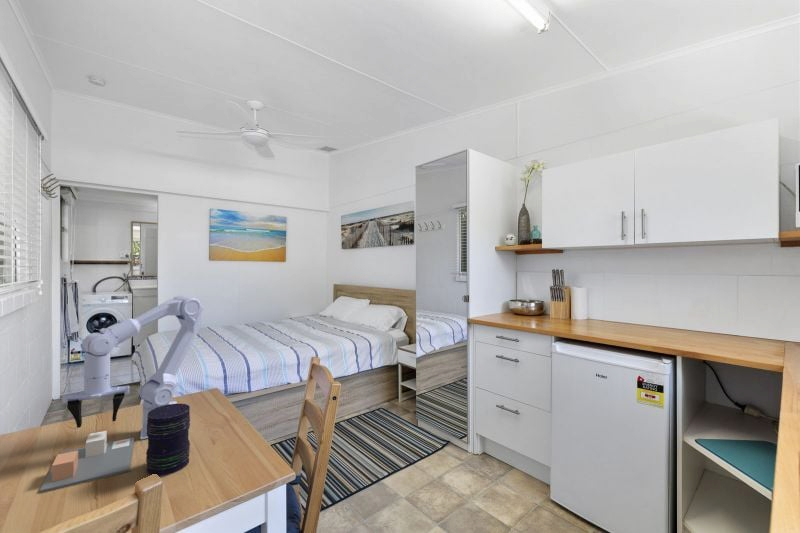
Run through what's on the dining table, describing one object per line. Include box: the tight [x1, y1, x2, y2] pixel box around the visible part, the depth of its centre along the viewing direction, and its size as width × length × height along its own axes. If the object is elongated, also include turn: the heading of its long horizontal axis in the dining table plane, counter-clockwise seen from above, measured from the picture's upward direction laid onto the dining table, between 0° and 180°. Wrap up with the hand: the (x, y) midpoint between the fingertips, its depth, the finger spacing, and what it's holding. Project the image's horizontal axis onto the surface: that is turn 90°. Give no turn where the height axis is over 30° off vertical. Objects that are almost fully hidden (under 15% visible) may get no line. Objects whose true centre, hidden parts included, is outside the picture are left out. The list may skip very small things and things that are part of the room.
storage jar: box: [145, 403, 191, 477], centre depth 97 cm, size 10×10×15 cm
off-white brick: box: [85, 430, 108, 457], centre depth 103 cm, size 4×6×4 cm, turn 34°
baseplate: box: [39, 436, 135, 494], centre depth 98 cm, size 17×20×1 cm
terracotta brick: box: [51, 451, 78, 482], centre depth 92 cm, size 4×6×4 cm, turn 34°
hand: (97, 423), depth 103 cm, fingers open, 7 cm apart
